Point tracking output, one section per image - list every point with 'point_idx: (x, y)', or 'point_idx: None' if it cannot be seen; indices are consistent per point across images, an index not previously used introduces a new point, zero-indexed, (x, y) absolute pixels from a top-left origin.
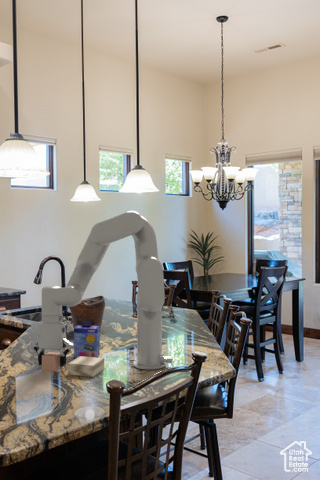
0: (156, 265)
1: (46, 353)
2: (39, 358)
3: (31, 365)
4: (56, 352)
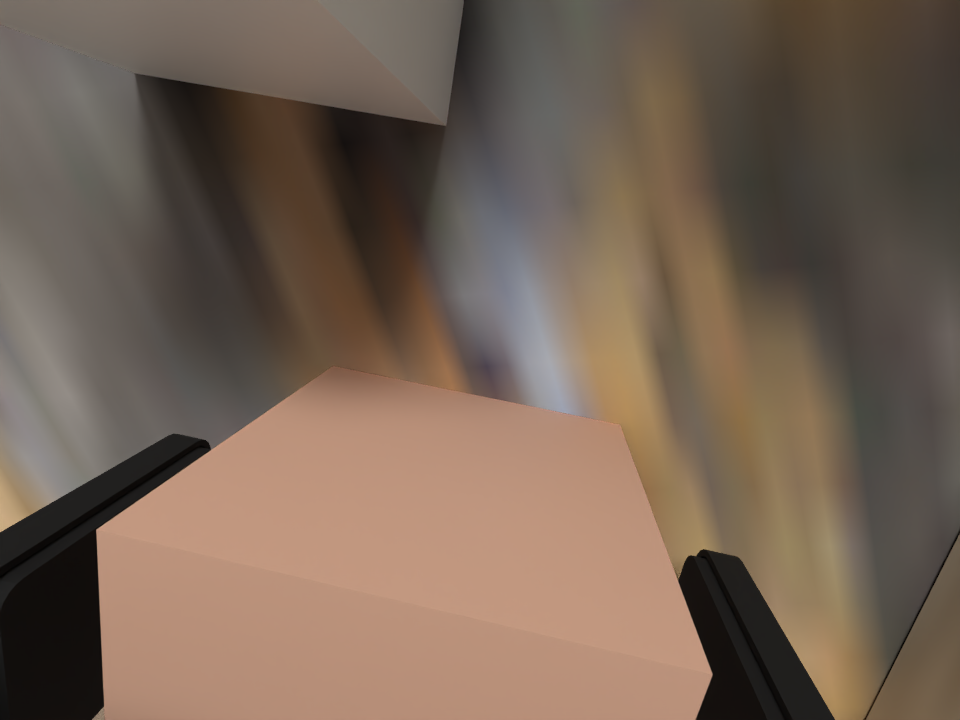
0: None
1: (113, 715)
2: (87, 707)
3: (4, 353)
4: (272, 31)
